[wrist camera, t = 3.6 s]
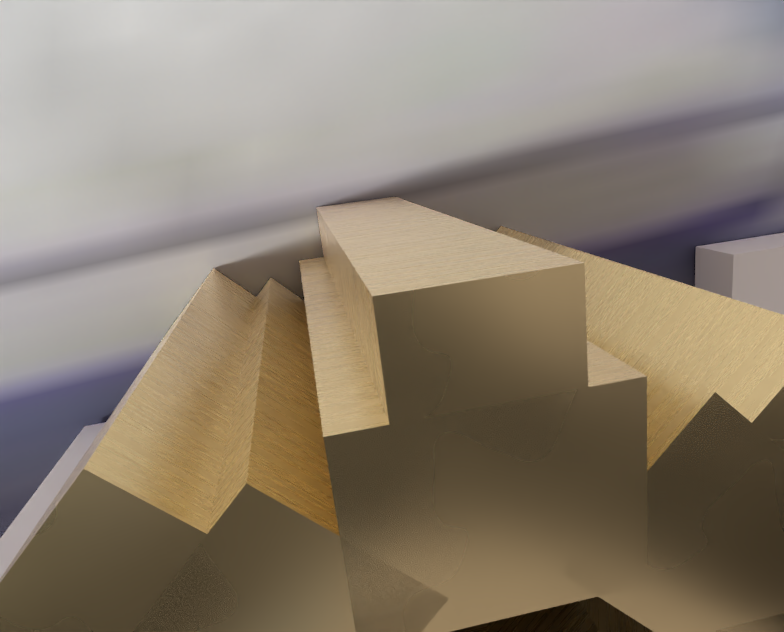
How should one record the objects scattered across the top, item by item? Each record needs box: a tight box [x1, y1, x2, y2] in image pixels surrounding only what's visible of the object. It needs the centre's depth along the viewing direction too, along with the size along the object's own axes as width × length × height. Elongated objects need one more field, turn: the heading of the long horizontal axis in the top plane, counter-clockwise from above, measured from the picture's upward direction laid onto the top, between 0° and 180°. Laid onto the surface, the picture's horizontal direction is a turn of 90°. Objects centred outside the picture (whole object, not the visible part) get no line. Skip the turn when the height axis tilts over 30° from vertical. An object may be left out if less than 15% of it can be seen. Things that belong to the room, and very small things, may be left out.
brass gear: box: [0, 197, 784, 632], centre depth 10 cm, size 10×10×8 cm
